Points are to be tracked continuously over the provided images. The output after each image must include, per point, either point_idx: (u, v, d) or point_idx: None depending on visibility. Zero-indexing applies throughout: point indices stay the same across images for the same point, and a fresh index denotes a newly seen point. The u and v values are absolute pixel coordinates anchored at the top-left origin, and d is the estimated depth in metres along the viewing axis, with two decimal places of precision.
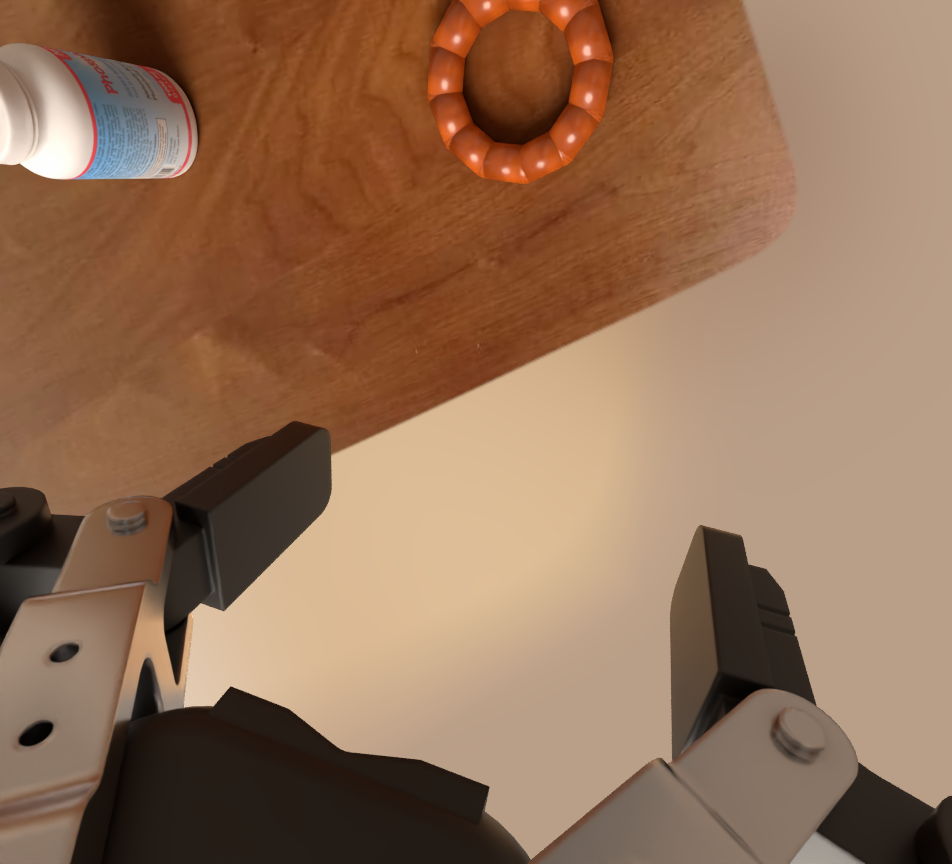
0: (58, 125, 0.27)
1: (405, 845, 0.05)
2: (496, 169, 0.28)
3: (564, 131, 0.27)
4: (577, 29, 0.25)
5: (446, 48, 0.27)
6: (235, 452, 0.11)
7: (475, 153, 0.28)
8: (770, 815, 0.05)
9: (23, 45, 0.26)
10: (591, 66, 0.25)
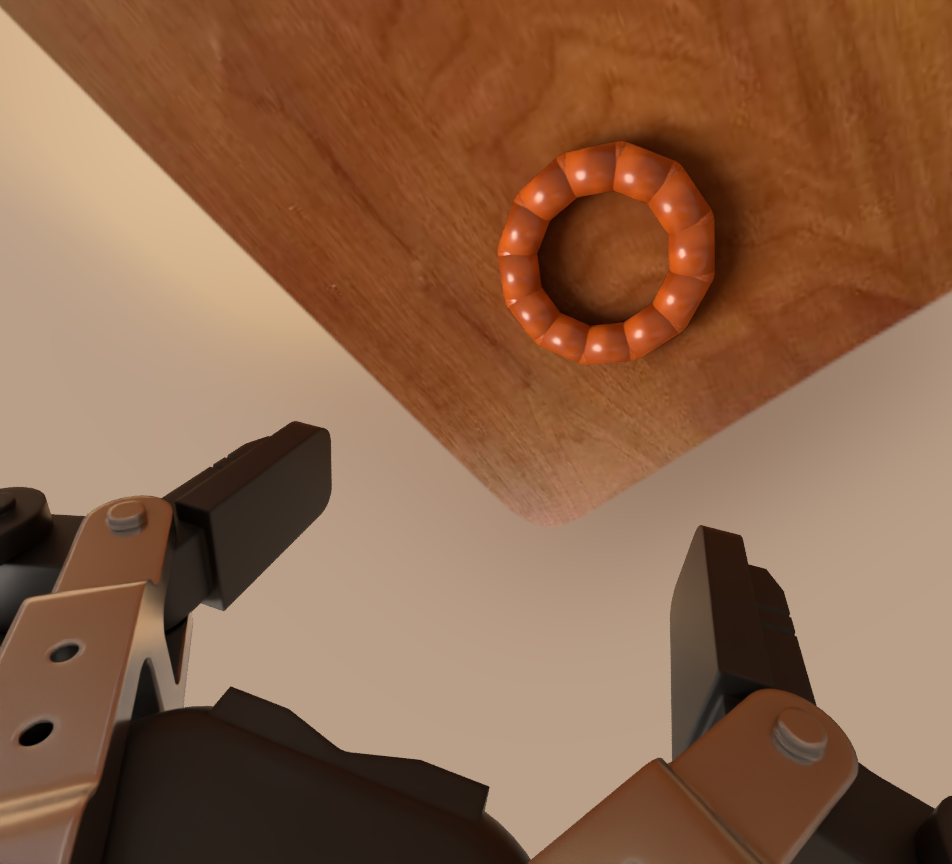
0: None
1: (405, 845, 0.05)
2: (507, 271, 0.25)
3: (560, 337, 0.25)
4: (653, 324, 0.24)
5: (616, 172, 0.22)
6: (235, 452, 0.11)
7: (516, 242, 0.24)
8: (770, 815, 0.05)
9: None
10: (622, 347, 0.24)
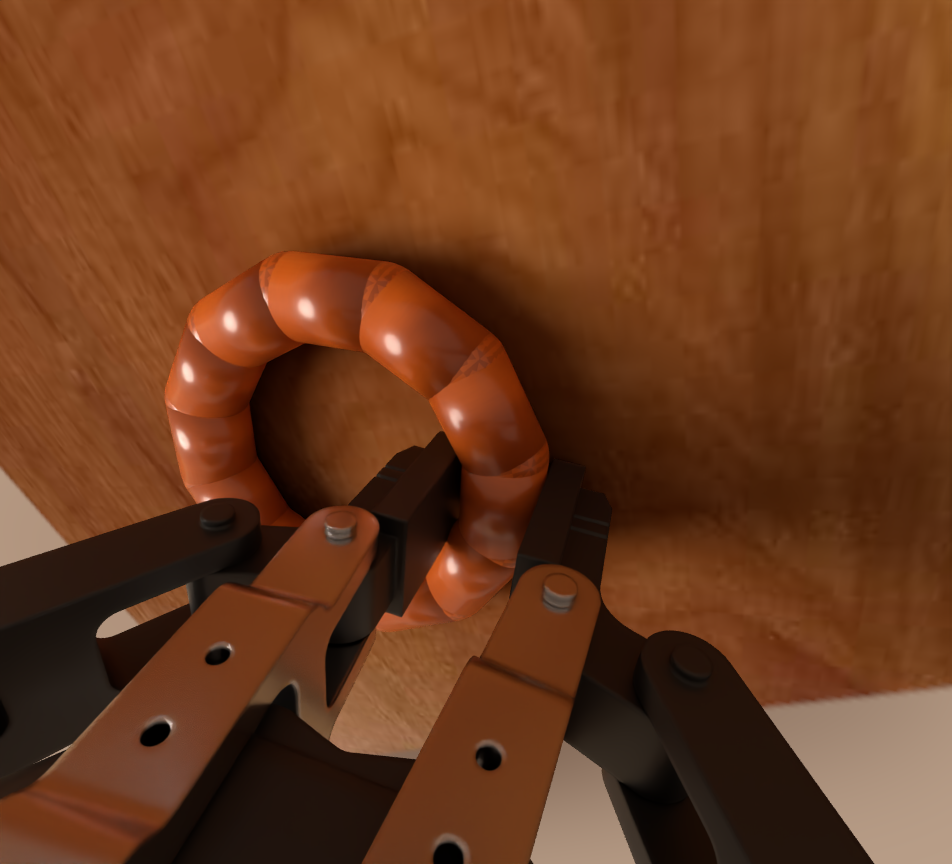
0: None
1: None
2: (174, 435, 0.13)
3: None
4: (415, 600, 0.13)
5: (361, 331, 0.10)
6: (391, 462, 0.11)
7: (185, 392, 0.12)
8: (558, 658, 0.07)
9: None
10: None
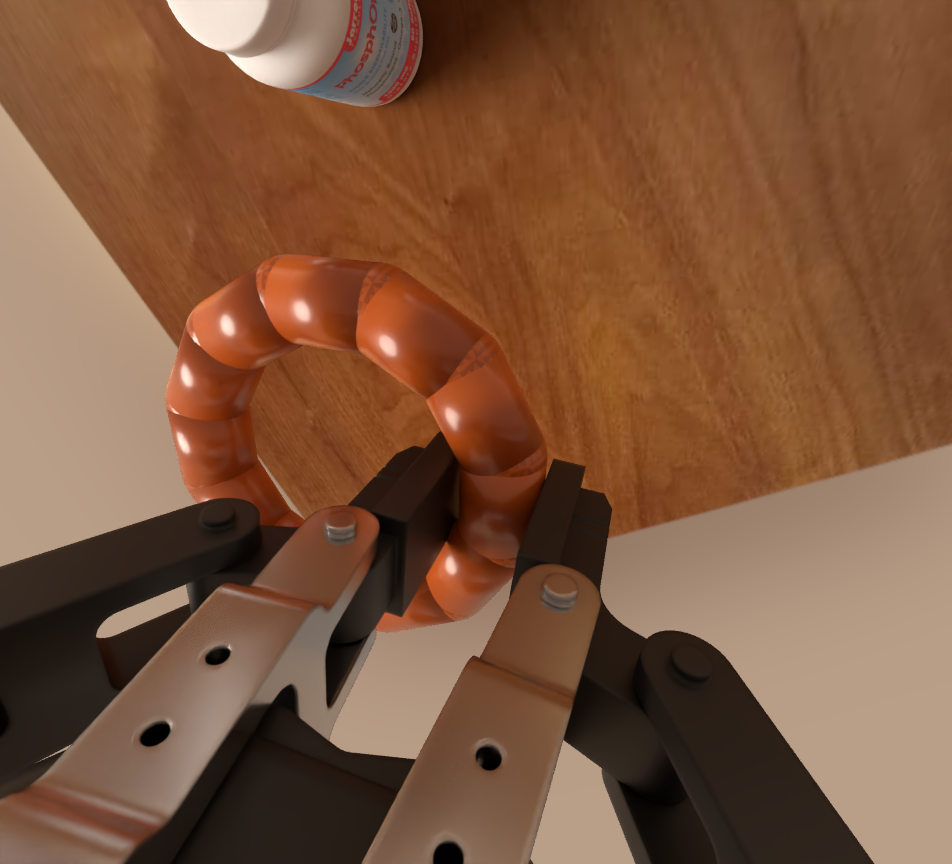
0: (256, 63, 0.21)
1: None
2: (175, 438, 0.13)
3: None
4: (416, 601, 0.13)
5: (358, 332, 0.10)
6: (391, 462, 0.11)
7: (185, 395, 0.12)
8: (558, 658, 0.07)
9: (337, 8, 0.20)
10: None
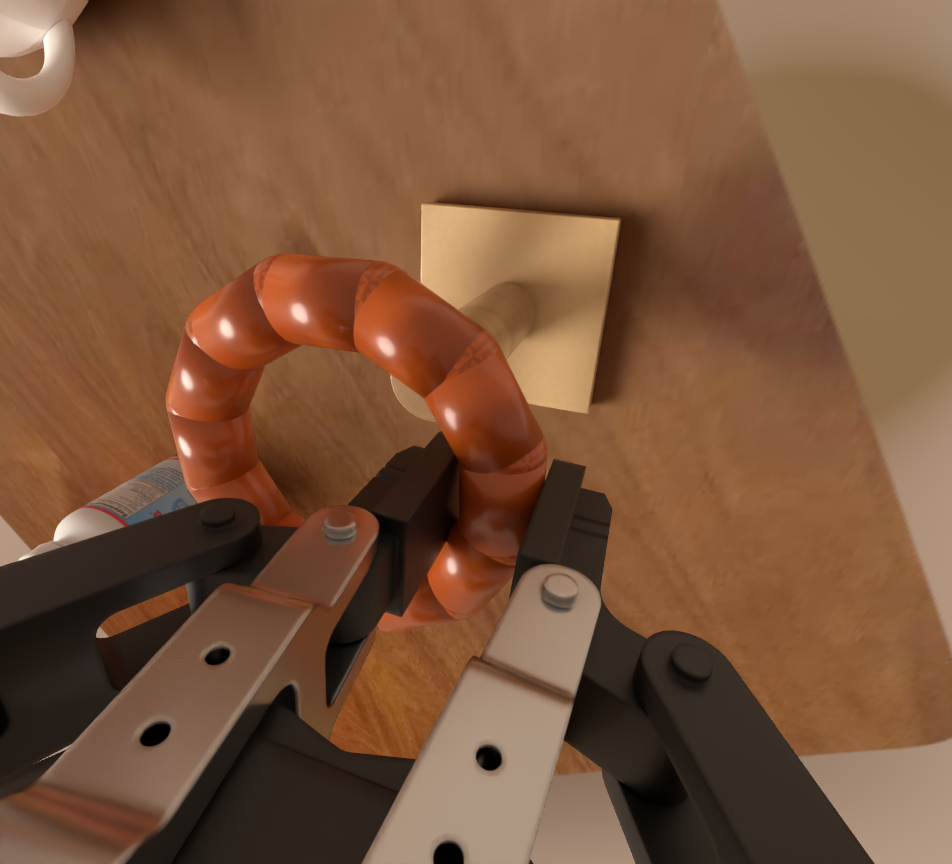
0: None
1: None
2: (176, 439, 0.13)
3: None
4: (417, 600, 0.13)
5: (355, 331, 0.10)
6: (391, 462, 0.11)
7: (185, 397, 0.12)
8: (558, 658, 0.07)
9: None
10: None
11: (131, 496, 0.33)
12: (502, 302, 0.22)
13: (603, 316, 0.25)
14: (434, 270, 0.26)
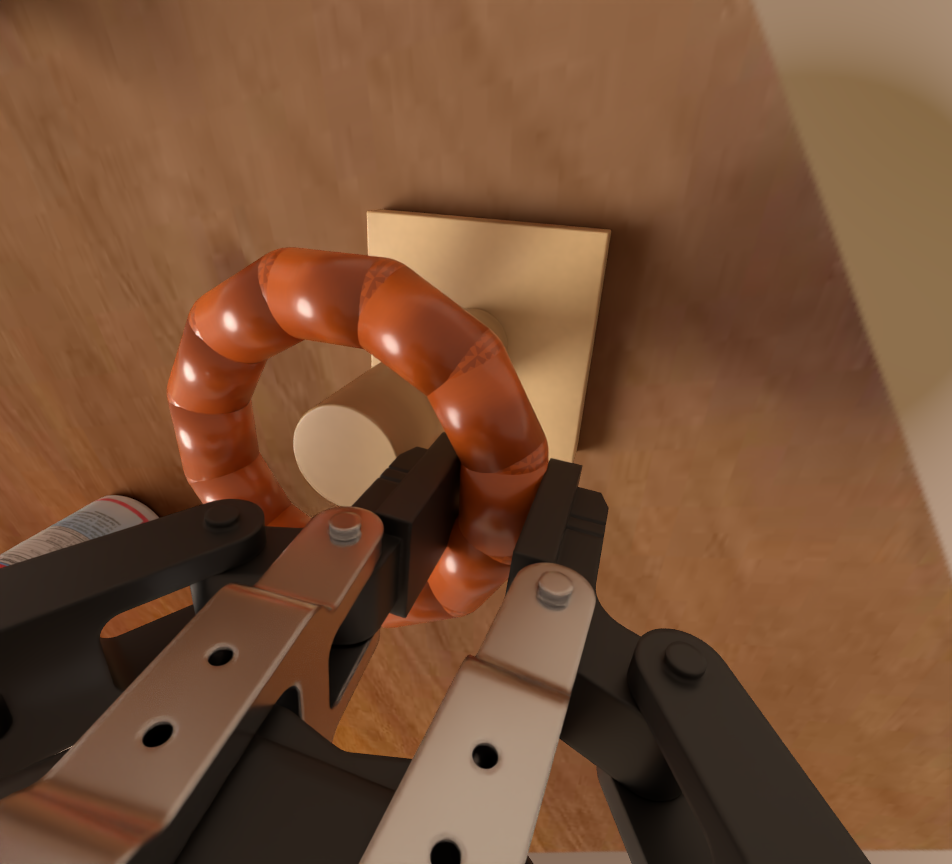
0: None
1: None
2: (177, 431, 0.13)
3: None
4: None
5: (360, 327, 0.10)
6: (394, 462, 0.11)
7: (187, 389, 0.12)
8: (553, 656, 0.07)
9: None
10: None
11: (45, 549, 0.28)
12: None
13: (589, 350, 0.20)
14: None
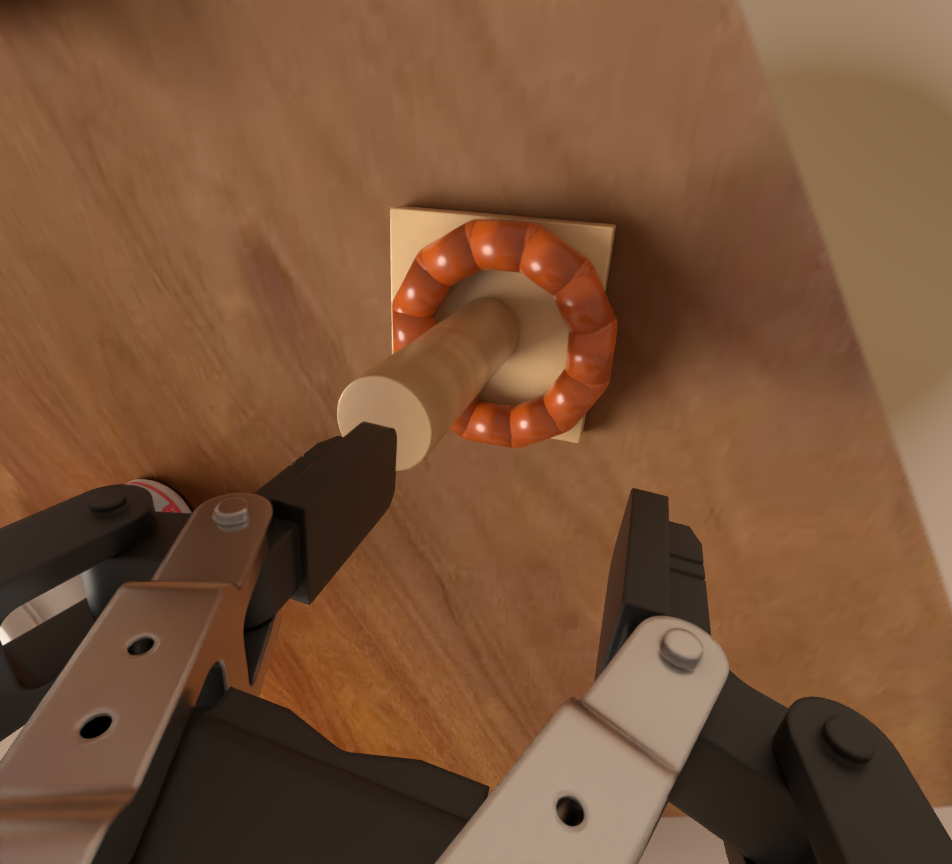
0: None
1: (405, 845, 0.05)
2: (398, 329, 0.22)
3: None
4: (538, 419, 0.22)
5: (522, 257, 0.20)
6: (310, 451, 0.12)
7: (410, 301, 0.22)
8: (667, 723, 0.06)
9: None
10: (505, 434, 0.23)
11: None
12: (477, 322, 0.19)
13: None
14: None
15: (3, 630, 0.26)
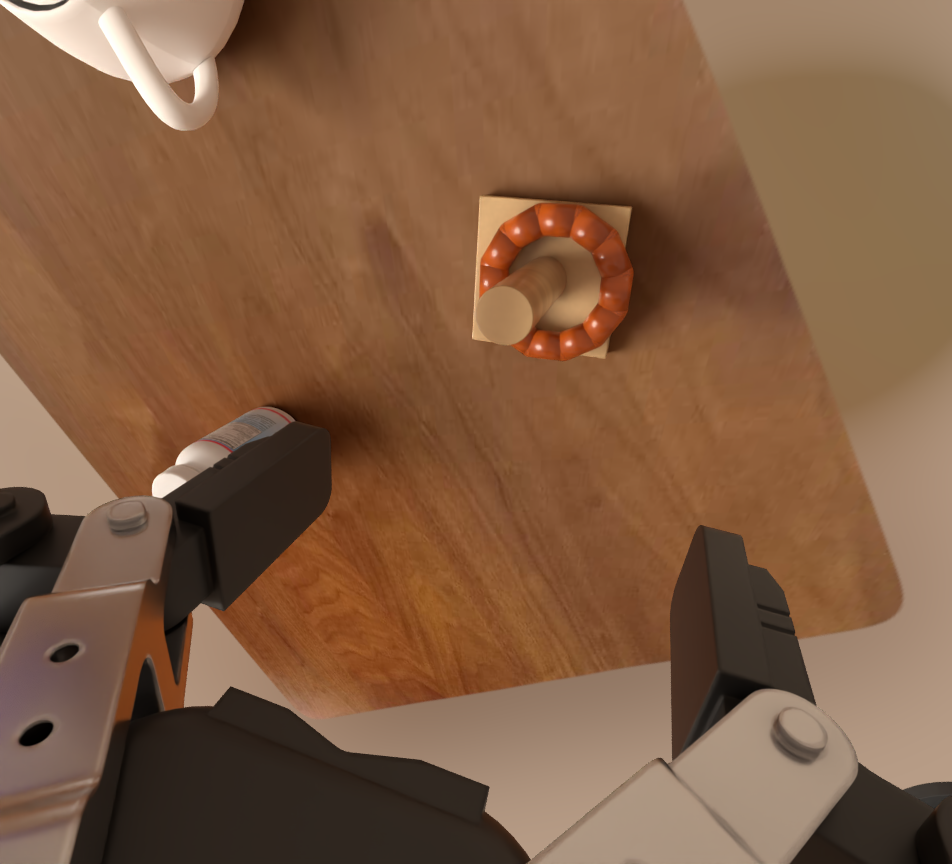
0: None
1: (405, 845, 0.05)
2: (485, 277, 0.33)
3: None
4: (580, 338, 0.33)
5: (572, 227, 0.30)
6: (235, 452, 0.11)
7: (495, 258, 0.32)
8: (770, 815, 0.05)
9: None
10: (556, 350, 0.34)
11: (234, 433, 0.41)
12: (544, 268, 0.30)
13: None
14: None
15: None
